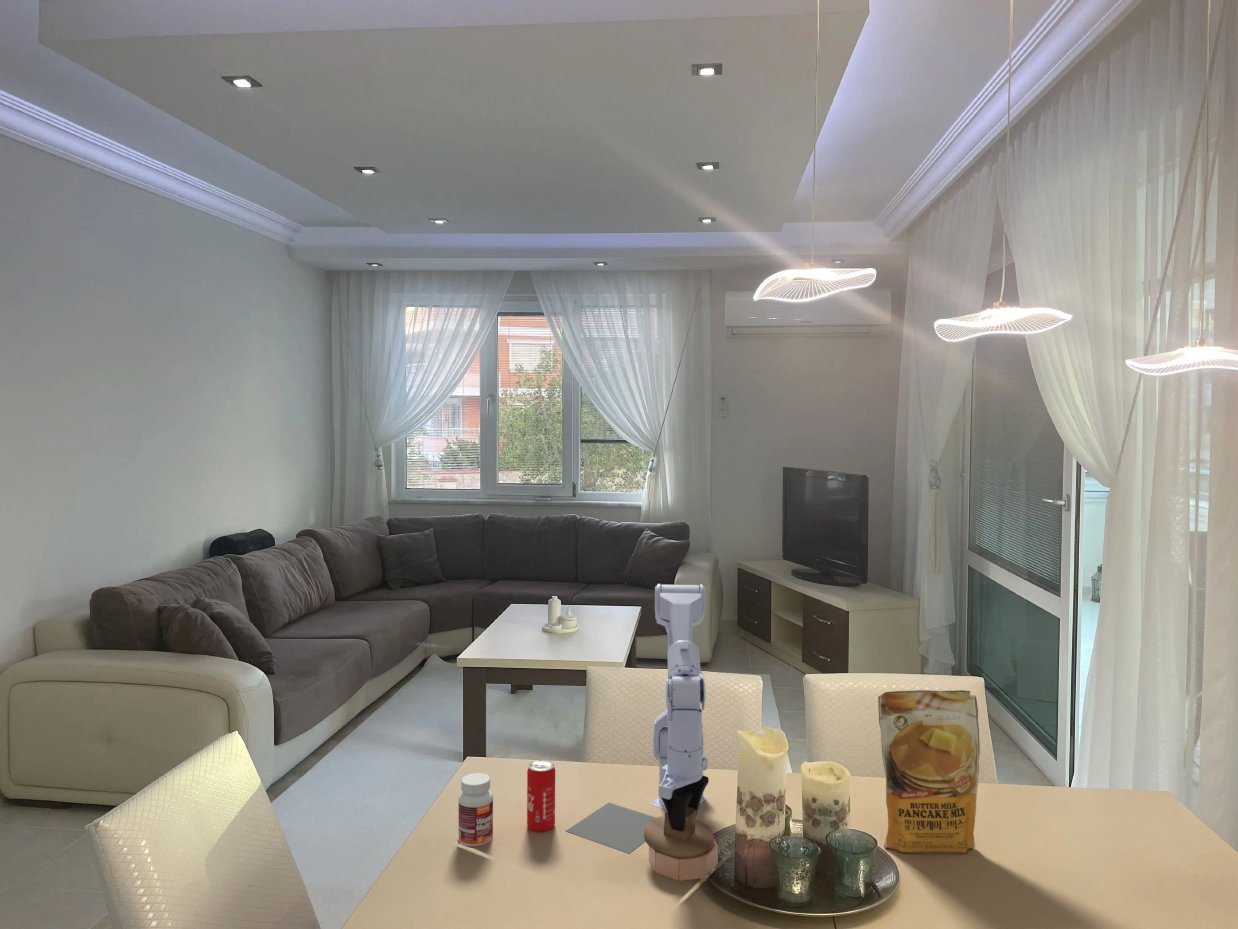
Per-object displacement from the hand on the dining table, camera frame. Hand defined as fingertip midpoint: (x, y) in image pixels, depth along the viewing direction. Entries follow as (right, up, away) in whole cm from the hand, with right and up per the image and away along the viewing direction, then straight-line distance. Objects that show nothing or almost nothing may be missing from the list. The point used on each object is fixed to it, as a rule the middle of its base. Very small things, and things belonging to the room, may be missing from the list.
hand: (683, 824), depth 141 cm
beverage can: (-26, -7, +13) cm, 29 cm away
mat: (-11, -7, +13) cm, 18 cm away
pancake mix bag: (+45, -8, +8) cm, 46 cm away
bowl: (0, -7, 0) cm, 7 cm away
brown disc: (-1, -3, +1) cm, 3 cm away
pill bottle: (-37, -7, +8) cm, 38 cm away
